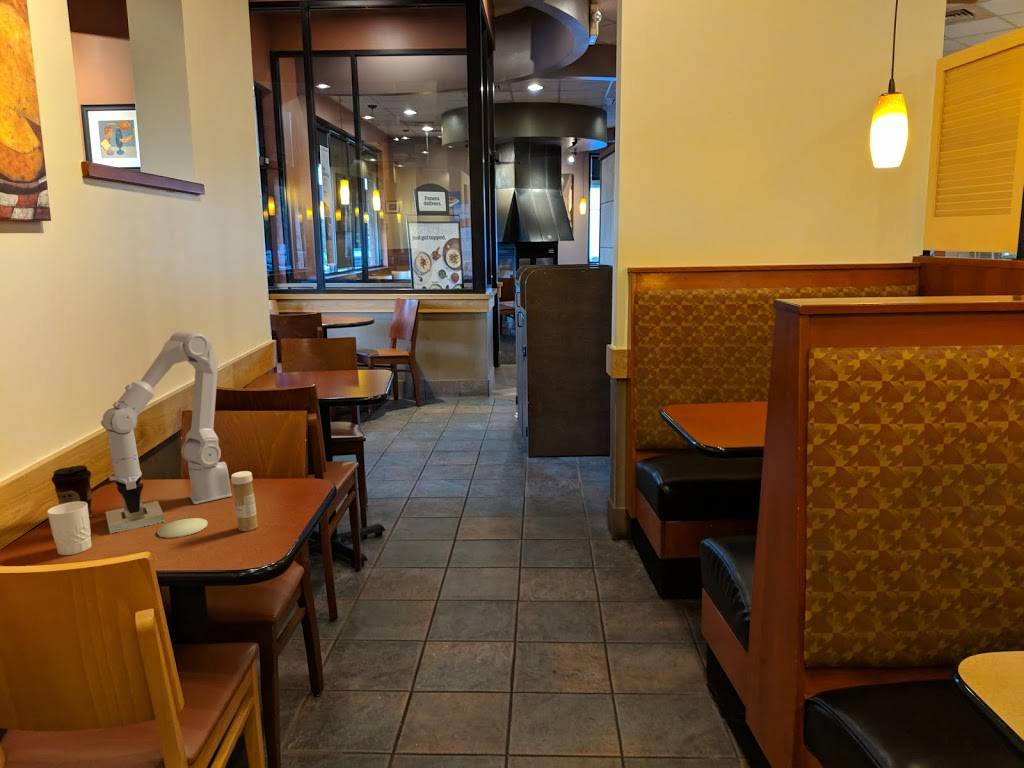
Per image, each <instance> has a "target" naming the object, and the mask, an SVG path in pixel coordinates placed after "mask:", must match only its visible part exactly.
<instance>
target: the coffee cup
mask: <svg viewBox="0 0 1024 768" xmlns="http://www.w3.org/2000/svg"><path fill="white" fill-rule="evenodd" d="M91 476H92V472H91V471H90V470H88V466H86V465H73V466H69V467H61V468H58V469H56V470H55V471H53V475H52V477H51V482H52V483H53V485H54V488H55V489H54V491H55V494H56V497H57V500H58V505H60V504H64V503H69V502H77V501H82V502H86V503H87V504H88V513H89V516H91V515H92V514H93V512H92V500H93V499H92V486H91Z"/></svg>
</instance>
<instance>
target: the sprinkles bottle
mask: <svg viewBox="0 0 1024 768" xmlns="http://www.w3.org/2000/svg"><path fill="white" fill-rule="evenodd" d="M230 479H231V484H232V486H233V493H234V503H235V511H236V517H237V524H238V525H237V530H239V531H241V532H251V531H253V530H255V529H257V528H258V527H259V522H258V518H257V507H256V499H255V492H254V488H253V473H252V472H251V471H248V470H244V471H237V472H234V473H232V474H231V476H230Z"/></svg>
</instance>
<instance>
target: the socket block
mask: <svg viewBox="0 0 1024 768" xmlns="http://www.w3.org/2000/svg"><path fill="white" fill-rule="evenodd" d="M142 505H143V511H144V515H139V516H135V517H130V518H125V513H124V507H122V508H116V509H113V510H108V511H105V512H104V513H105V517H106V523H107V527H108V531H109V535H112V534H111V533H114V534H116V533H115V532H118V533H122V532H121V531H123V532H126V531H125V530H127V531H130V530H135V529H139V528H140V529H141V528H144V526H145V527H148V525H149V526H153V524H154V525H157V523H158V524H162V523H161V522H163V523H165V522H166V521H165V515H164V512H163V510H162V507H161V505H160V503H159V501H158V500H154V501H150V502H145V503H142Z"/></svg>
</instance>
